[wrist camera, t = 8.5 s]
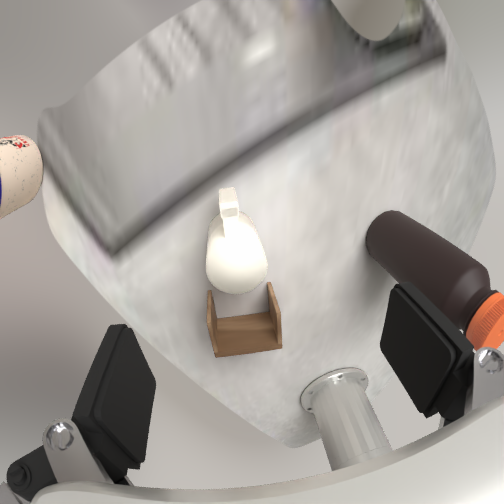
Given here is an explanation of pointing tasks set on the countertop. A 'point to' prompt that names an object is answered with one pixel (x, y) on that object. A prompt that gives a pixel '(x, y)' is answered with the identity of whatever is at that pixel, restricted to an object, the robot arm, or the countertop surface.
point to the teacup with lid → (18, 172)
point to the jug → (234, 249)
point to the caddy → (245, 330)
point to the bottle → (439, 275)
